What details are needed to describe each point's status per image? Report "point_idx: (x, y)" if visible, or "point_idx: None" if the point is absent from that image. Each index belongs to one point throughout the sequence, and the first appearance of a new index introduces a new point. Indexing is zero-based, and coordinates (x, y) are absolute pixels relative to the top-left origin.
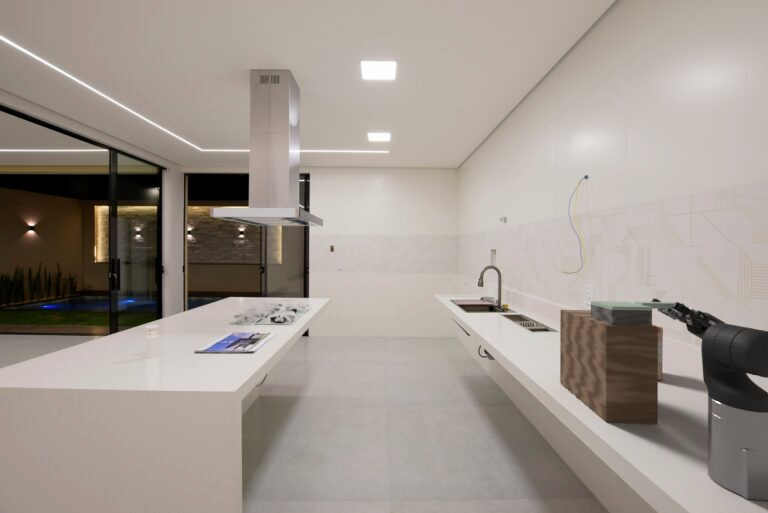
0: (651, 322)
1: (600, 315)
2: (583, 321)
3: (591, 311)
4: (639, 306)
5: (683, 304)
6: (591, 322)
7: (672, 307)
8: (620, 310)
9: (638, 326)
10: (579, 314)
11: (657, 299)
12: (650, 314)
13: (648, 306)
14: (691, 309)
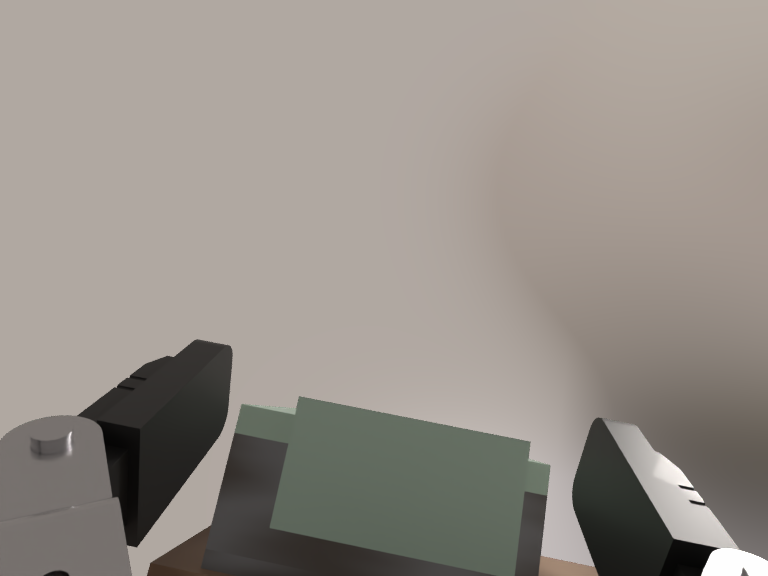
0: (208, 537)
1: None
2: None
3: None
4: (280, 409)
5: (299, 415)
6: None
7: (222, 420)
8: None
9: (205, 529)
10: (580, 571)
11: (610, 431)
12: (230, 466)
13: (271, 409)
14: (50, 430)
